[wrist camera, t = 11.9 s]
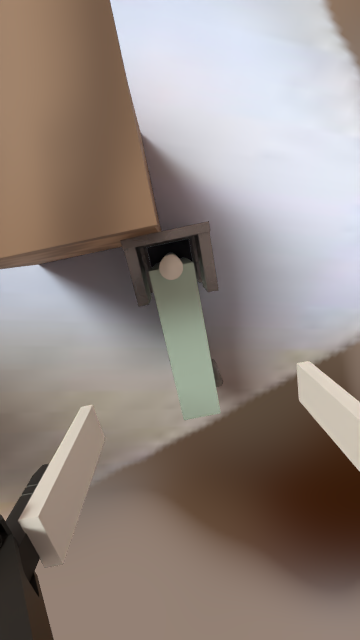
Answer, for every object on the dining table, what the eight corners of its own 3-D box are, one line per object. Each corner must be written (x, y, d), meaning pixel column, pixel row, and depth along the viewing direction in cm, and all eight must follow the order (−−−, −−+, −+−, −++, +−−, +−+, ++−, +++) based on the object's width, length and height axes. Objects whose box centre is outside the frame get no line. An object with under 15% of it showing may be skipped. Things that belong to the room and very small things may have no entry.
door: (179, 367, 37) (184, 427, 25) (154, 255, 32) (144, 260, 20) (212, 360, 37) (234, 417, 25) (192, 247, 32) (206, 247, 20)
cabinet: (36, 267, 32) (-195, 299, 12) (-3, 160, 28) (-439, -60, 8) (165, 239, 32) (157, 224, 11) (142, 128, 28) (68, -188, 8)
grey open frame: (149, 287, 33) (137, 307, 22) (138, 243, 32) (120, 240, 20) (202, 276, 33) (219, 291, 22) (194, 231, 31) (208, 221, 20)
